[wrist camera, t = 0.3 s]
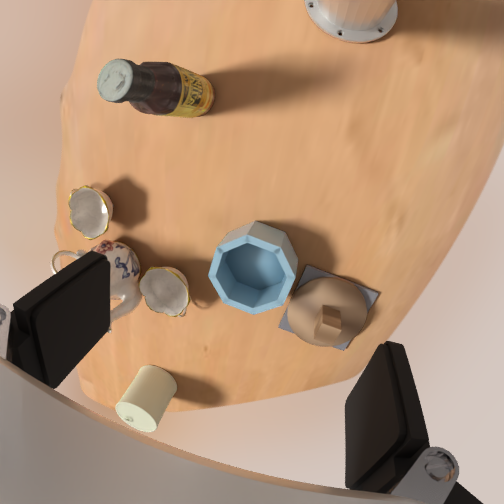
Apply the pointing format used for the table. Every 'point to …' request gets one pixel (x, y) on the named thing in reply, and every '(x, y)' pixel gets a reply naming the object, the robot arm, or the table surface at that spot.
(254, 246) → the bowl
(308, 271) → the mat
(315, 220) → the table surface
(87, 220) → the chinaware
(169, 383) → the can
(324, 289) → the lid
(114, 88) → the sauce bottle
